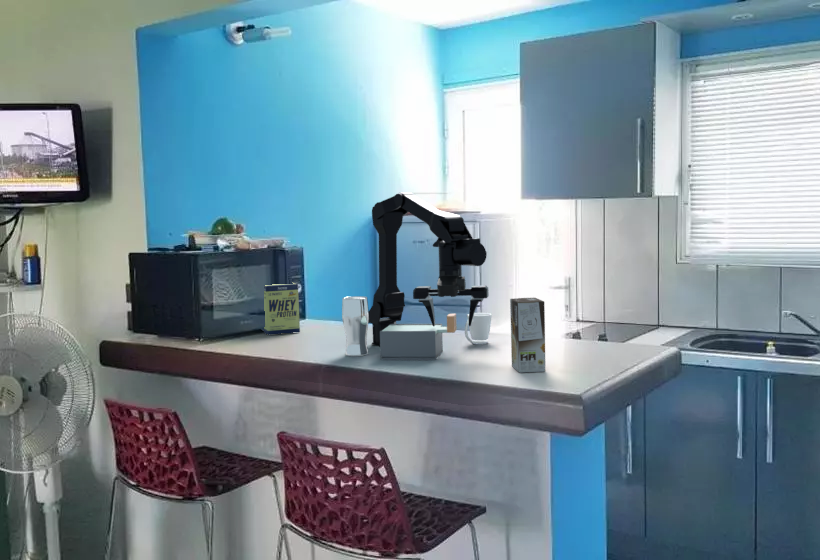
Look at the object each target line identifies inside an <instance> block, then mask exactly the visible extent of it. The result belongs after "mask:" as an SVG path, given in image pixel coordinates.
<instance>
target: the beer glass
mask: <svg viewBox="0 0 820 560" xmlns="http://www.w3.org/2000/svg"><path fill="white" fill-rule="evenodd" d="M341 302H342V303H341V317H342V319H341V320H342V325H343V330H344V334H345V339H346V345H345V346H346V348H345V352H344V353H345V354H344V355H345V356H347V357H363V356H367V355H369V349H368V344H367V337H368V328H369V323H368V321H369V310H370V309H369V301H368V297H367V296H360V295H359V296H358V295H357V296H345V297H342V301H341Z"/></svg>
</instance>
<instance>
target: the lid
mask: <svg viewBox="0 0 820 560" xmlns="http://www.w3.org/2000/svg"><path fill="white" fill-rule="evenodd" d="M457 328H458V327H457V313H448V314H447V315H446V326H443V324H442V325H435V326H433V325H389V326H388V327H386V328H385V329H384V330H382V331H435V335H436V334H437V333H442V334H443V333H446V334H447V333H449V334H450V333H452V334H453V333H455V332H456V331H457V330H458V329H457Z"/></svg>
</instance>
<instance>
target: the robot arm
mask: <svg viewBox="0 0 820 560" xmlns="http://www.w3.org/2000/svg"><path fill="white" fill-rule="evenodd" d="M408 213H409V214H411V215H413V216H414V217H415V218H417V219H419V220H421V221H422V222H423V223H425V224H426V225H428V228H429V230H430V232H431V233H432V234H433V235H435V237H436V238H437V239H436V241H434V243H433V244H432V247H433V248H438V274H439V276H438V279H437V283H436V287H437V288H432V286H431V285H422V286H421V285H419V286H417V287H415V288H414V289H413V292H412V298H413V300H418V303H422V304H423V306H424V307H425V309H426V311H427V315H428V317H429V319H430V322H431V324H432V325H433V326H435V324H436V316H435V306H434V305H435V304H434V298H433V297H440V298H445V297H451V298H455V297H459V296H460V297H462V296H466V297H468V296H471V298H470V299H469V313H468V314H469V325H468V327H469V326H471V323H472V319H473V316H474V313H476V309H477V307H478V305H479V303H481V302H483V301H484V299H488V297H489V287H488V286H487V285H485V284H484V285H472V286H471V288H466V277H465V276H463V273H462V272H463V269H462V266H466V267H467V266H468V267H481V266H482V265H483V264H484V263H485V262H486V259H487V253H488V252H487V251H486V248H485V246H484V245H483V244H482V243H481V238H479V237H477V238H475V237H474V238H473V236H472V234H471V232H470V231H469V229H468V227H467V224H466V223H465V220H464V218H463V217H462V216H461V215H459V214H455V213H452V212H447V211H443V210H440V209H438V208H436V207H435V206H433V205H432V204H430V203H428V202H426V201H425V200H423V199H421V198H420V197H418V196H416V194H415V193H413V192H410V191H409V192H408V191H407V192H403V191H402V192H398V193H396V194H394V195H393V196H391V197H389V198H386V199H384V200H381V201H379V202H376V203H374V205H373V206H372V209H371V219H372V225H373V227H374V229H375V230H376V232H377V234H378V287H377V289H376V291H375V292H374V294H373V299H372V305H371V307H370V309H369V321H368V324H372V342H371V346H380V331H382V330H384V329H385V328H386V327H388V326H389V325H390V324H397V322H401V321H402V316H403V313H404V307H406V304H405V292H404V291H401V290H400V289H399V287H398V262H397V261H398V250H397V249H398V247H397V246H398V245H397V244H398V243H397V242H398V241H397V240H398V237H397V236H398V235H397V234H398V232H399V231H400V229H401V227H402V224H403V218H404V216H406V215H407V214H408Z"/></svg>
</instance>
